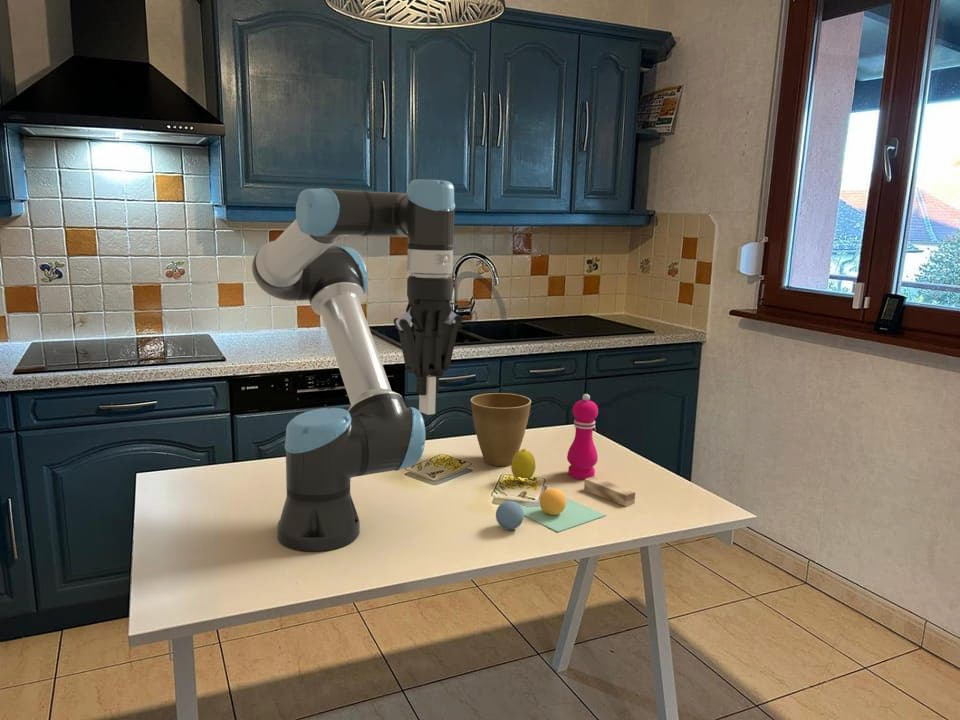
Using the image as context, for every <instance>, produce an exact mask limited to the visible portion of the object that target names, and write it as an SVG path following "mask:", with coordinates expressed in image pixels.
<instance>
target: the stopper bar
mask: <svg viewBox="0 0 960 720" xmlns="http://www.w3.org/2000/svg"><path fill="white" fill-rule="evenodd" d="M583 487H584V488H583V489H584V491H587V492H590V493H591V494H595V496H596V495H597V496H599V497H602V498H604V499H606V500H609V501H612V502H614V503H616V504H619V505H622V506H623V507H628V506H631V505H635V499H636V492H635V491H632V490H630V489H627V488H624V487H622V486H619V485H617V484H614V483H612V482H610V481H607V480H604V479H602V478H599V477H596V476H595V475H594V476H593V477H590V478H587V479H584V485H583Z"/></svg>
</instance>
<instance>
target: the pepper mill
mask: <svg viewBox="0 0 960 720" xmlns="http://www.w3.org/2000/svg"><path fill="white" fill-rule="evenodd" d="M572 415H573V417H574V420H573V427H574V429H575V434H574V439H573V441H572V442H571V445H570V446H569V448H568V452H567V455H566V457H567V458H566V460H567V461H568V464H569V466H568V471H567V474H568V476H569V477H570V478H573V479H577V480H585V479H587V478H590V477H593V476H594V477H595V474H596V473H595V472H596V469H595V467H594V466H595V465H596V464H597V463H598V452H597V448H596V446H595V443H594V440H593V431H594V429H595V428H596V425H595V424H596V421H595V419H596V418H597V417H598V416H599V408H598V405H597V404H596V403H595V402H594V401H592V400H591V396H590V395H589V394H588V393H584V394H583V395H582V399H581V400H578V401H577V402H575V403H574V405H573V407H572Z"/></svg>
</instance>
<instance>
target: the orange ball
mask: <svg viewBox="0 0 960 720" xmlns="http://www.w3.org/2000/svg"><path fill="white" fill-rule="evenodd" d="M566 498H567V497H566V496H565V494H564V492H563V491H562V490H560V489H558V488H555V487H554V488H553V487H551V488H547V489H545V490H544V491H542V493H541V494H540V497H539V499H538V500H539V503H540V507H541V509H542V510H543V511H544V512H545V513H546V514H548V515H558V514H560V513H561V512H562V511H563V510H564V509H565V506H566Z"/></svg>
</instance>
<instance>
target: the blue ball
mask: <svg viewBox="0 0 960 720" xmlns="http://www.w3.org/2000/svg"><path fill="white" fill-rule="evenodd" d="M520 505H521V504H519V503H518V502H516V501H513V500H505V501H503V502H502V503H500V504H499V505H498V507H497V508H496V511H495V519H496V522H497V523H498V525H499V527H501V528H503V529H506V530H515V529H517V528H518V527H520V526H521V524H522V523H523V522H524V518H525V516H524V512H523V509H522V507H521V506H520Z"/></svg>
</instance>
